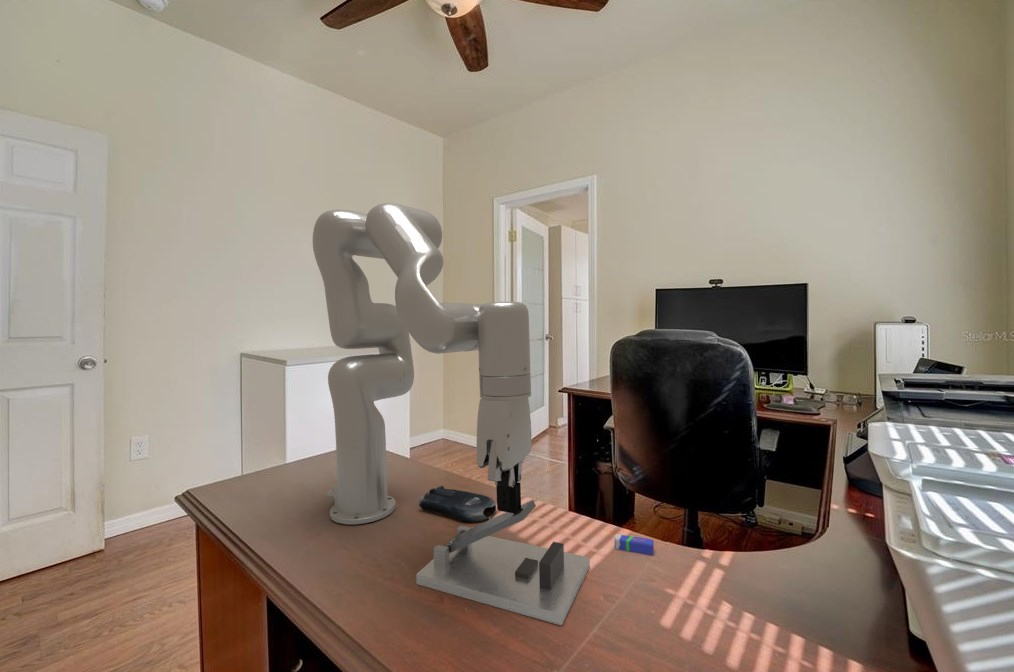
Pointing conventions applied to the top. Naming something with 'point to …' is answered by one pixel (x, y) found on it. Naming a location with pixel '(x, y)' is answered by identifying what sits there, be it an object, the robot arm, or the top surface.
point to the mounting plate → (509, 576)
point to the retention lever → (490, 527)
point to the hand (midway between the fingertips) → (509, 509)
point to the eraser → (634, 544)
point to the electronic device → (457, 504)
